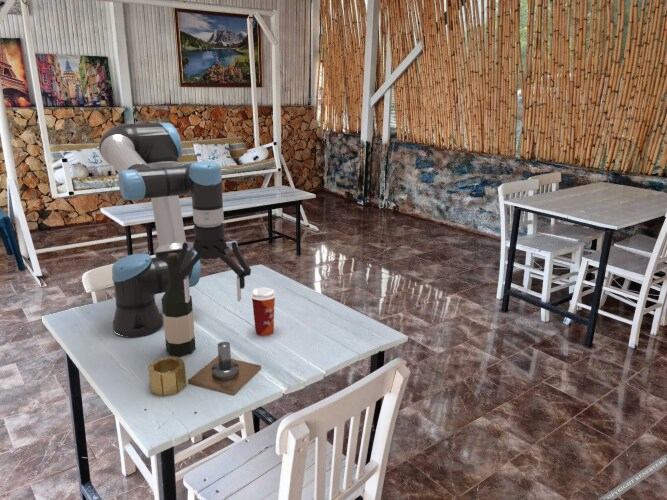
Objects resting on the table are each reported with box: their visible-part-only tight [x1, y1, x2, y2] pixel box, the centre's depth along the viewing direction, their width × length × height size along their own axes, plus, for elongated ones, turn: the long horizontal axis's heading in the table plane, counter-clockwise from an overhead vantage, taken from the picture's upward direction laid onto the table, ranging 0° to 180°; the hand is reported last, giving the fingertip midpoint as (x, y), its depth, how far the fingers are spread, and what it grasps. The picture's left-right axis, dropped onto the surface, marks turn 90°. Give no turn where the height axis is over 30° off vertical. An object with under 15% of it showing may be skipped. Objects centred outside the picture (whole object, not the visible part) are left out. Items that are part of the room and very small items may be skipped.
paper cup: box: [250, 287, 277, 337], centre depth 165 cm, size 8×8×14 cm
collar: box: [147, 356, 187, 397], centre depth 137 cm, size 9×9×6 cm
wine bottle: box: [161, 253, 197, 358], centre depth 151 cm, size 8×8×30 cm
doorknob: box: [187, 341, 262, 396], centre depth 141 cm, size 14×14×10 cm
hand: (213, 300), depth 141 cm, fingers open, 13 cm apart
